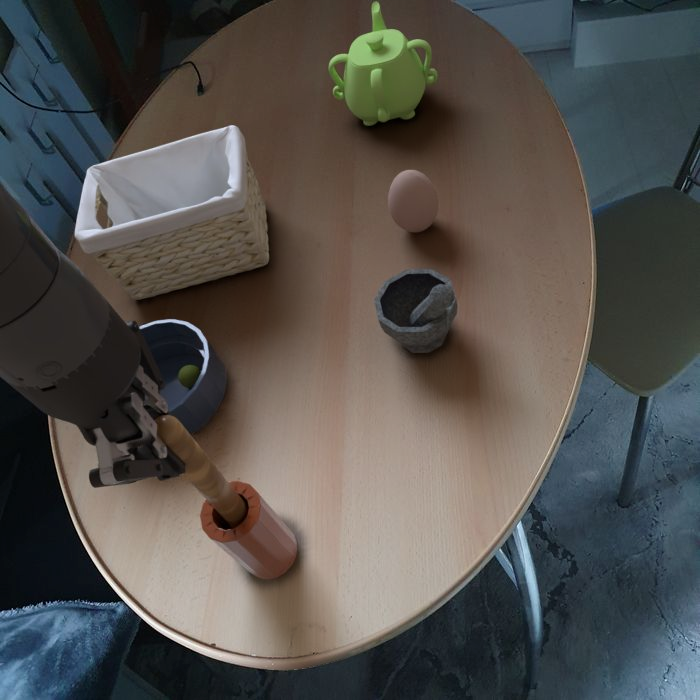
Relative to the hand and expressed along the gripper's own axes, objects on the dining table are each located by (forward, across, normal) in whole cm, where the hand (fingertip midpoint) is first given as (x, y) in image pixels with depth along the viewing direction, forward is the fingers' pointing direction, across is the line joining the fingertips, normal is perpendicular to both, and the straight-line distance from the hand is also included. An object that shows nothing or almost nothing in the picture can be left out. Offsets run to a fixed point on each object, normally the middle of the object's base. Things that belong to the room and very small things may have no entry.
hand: (174, 455), depth 54 cm
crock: (+24, 0, 0) cm, 24 cm away
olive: (+22, -25, -8) cm, 34 cm away
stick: (+17, 0, 0) cm, 17 cm away
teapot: (+24, -72, +27) cm, 81 cm away
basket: (+24, -49, -7) cm, 55 cm away
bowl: (+24, -24, -12) cm, 36 cm away
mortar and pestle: (+24, -23, +22) cm, 40 cm away
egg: (+24, -42, +25) cm, 55 cm away
